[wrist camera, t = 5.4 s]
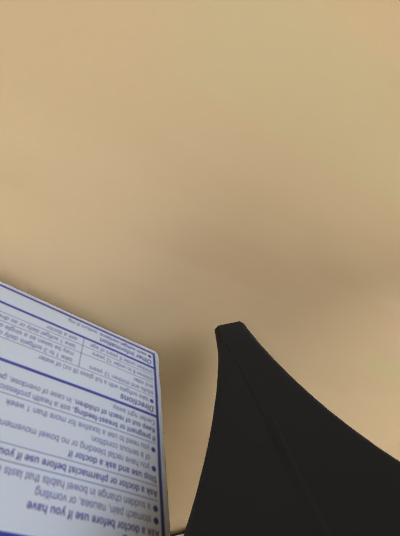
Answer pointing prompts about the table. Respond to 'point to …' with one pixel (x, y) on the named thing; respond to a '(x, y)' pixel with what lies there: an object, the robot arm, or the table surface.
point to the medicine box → (77, 427)
